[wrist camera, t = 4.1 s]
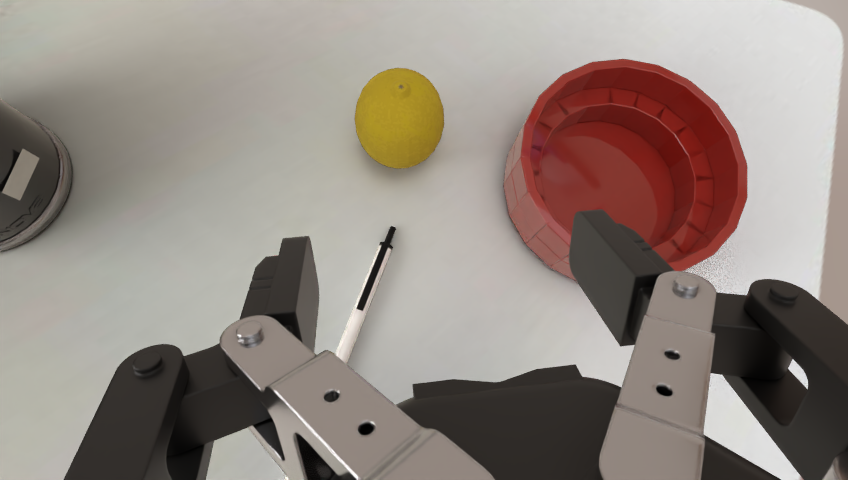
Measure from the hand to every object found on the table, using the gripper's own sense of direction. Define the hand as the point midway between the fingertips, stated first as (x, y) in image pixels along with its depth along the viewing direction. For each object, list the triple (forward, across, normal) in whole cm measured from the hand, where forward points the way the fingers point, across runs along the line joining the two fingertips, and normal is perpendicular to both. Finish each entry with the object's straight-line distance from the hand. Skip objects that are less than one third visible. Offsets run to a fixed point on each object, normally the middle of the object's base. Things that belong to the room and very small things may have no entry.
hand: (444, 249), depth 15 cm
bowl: (+18, -14, +8) cm, 23 cm away
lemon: (+21, 0, +4) cm, 21 cm away
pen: (+11, +5, +15) cm, 19 cm away
